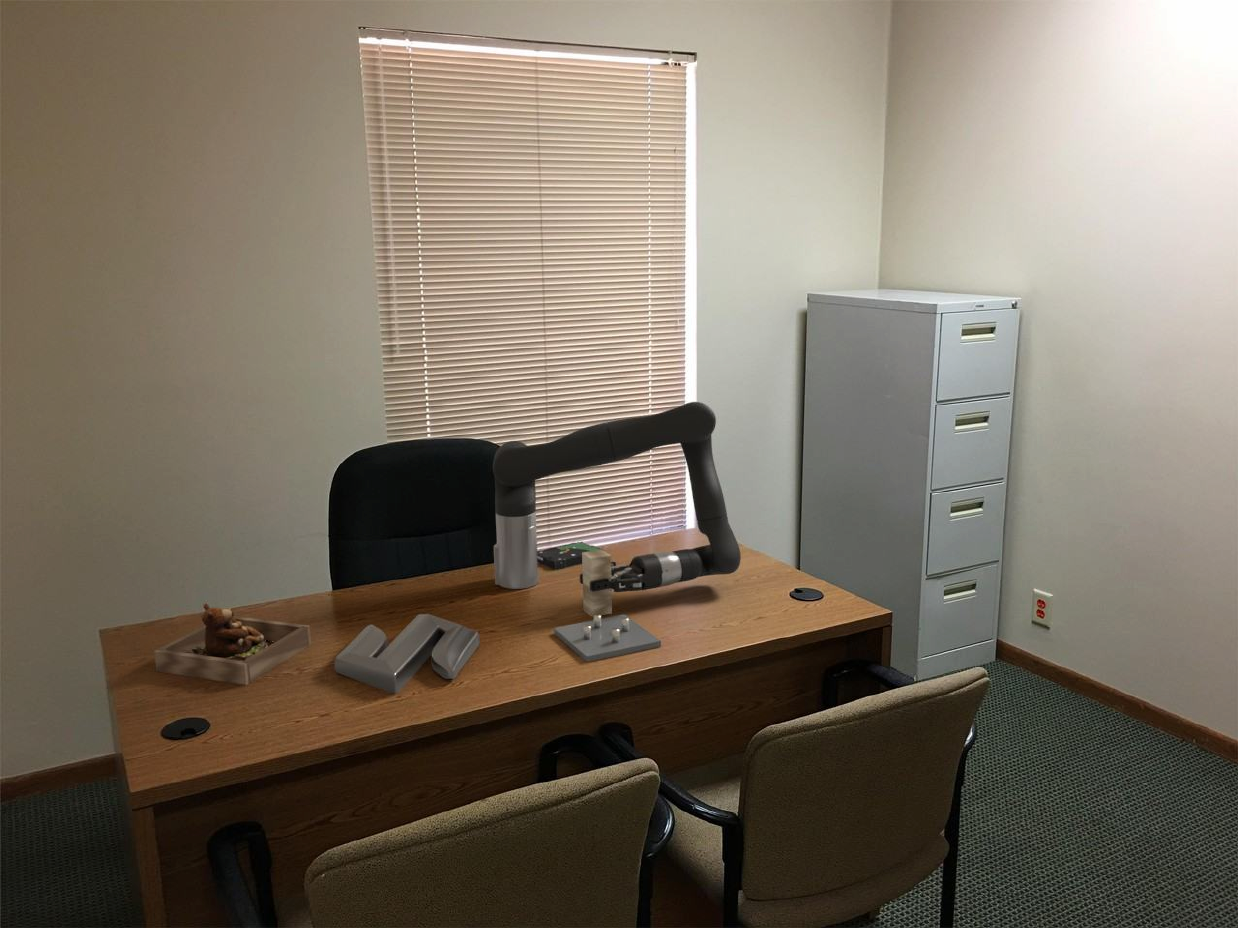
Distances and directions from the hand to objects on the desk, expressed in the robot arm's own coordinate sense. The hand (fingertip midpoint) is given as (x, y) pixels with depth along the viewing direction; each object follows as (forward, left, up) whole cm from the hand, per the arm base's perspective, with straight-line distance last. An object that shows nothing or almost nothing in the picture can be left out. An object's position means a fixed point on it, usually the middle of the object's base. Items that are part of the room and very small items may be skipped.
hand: (585, 582), depth 211 cm
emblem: (-24, -32, -8) cm, 41 cm away
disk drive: (-17, +34, -8) cm, 39 cm away
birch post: (+2, +2, -7) cm, 7 cm away
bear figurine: (-58, -41, -7) cm, 72 cm away
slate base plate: (+9, -12, -7) cm, 17 cm away
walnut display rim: (-57, -41, -7) cm, 71 cm away
